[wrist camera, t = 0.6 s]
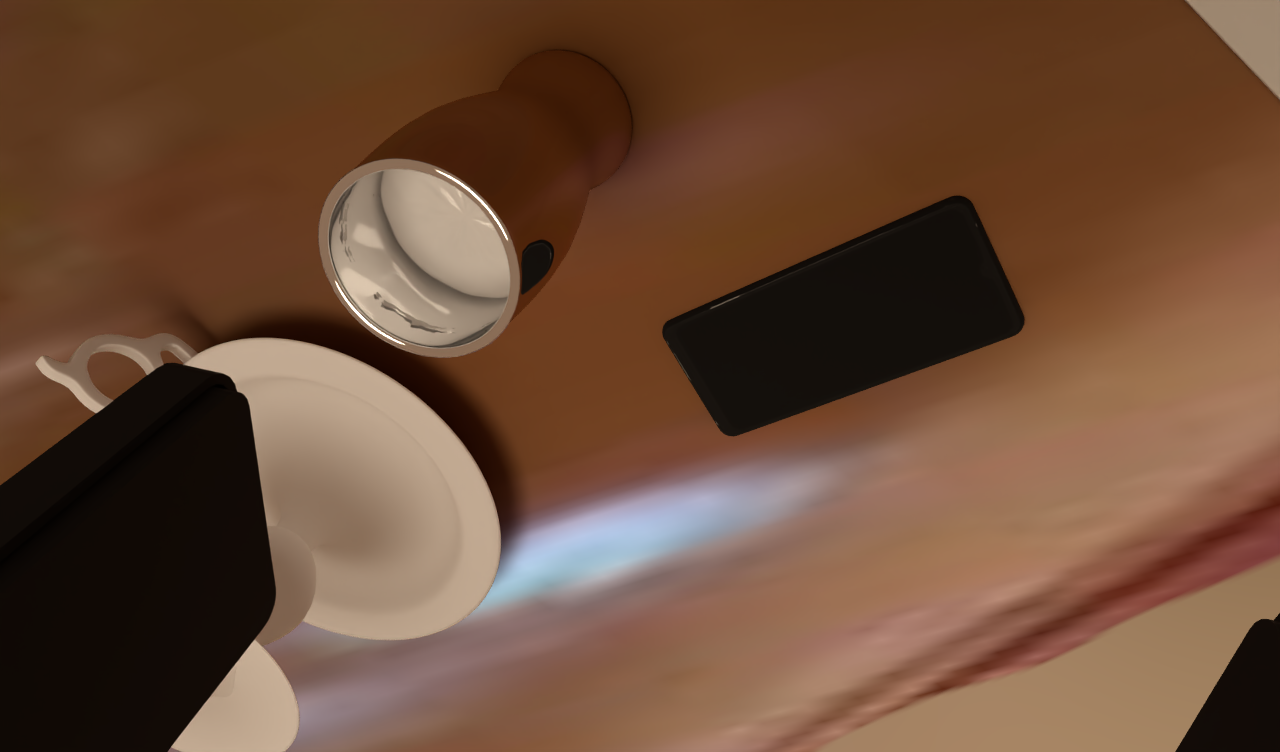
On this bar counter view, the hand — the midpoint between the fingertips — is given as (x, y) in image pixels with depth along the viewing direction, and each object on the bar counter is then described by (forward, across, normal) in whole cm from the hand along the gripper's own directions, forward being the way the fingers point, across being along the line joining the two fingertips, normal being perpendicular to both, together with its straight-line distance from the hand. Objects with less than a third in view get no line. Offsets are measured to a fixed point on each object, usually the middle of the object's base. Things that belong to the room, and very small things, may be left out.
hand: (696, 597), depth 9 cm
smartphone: (+33, -2, +14) cm, 36 cm away
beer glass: (+33, +11, +6) cm, 35 cm away
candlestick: (+33, +24, +27) cm, 49 cm away
